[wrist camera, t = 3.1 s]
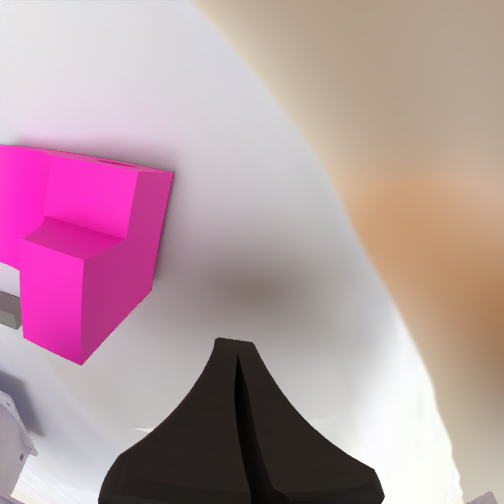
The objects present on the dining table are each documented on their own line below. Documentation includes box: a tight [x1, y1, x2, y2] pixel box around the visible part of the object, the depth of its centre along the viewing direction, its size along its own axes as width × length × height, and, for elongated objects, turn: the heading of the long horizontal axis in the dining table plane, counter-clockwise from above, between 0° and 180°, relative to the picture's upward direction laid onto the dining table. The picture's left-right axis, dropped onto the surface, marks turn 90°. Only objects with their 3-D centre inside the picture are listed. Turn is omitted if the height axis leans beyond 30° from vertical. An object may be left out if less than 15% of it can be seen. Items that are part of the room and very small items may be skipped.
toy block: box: [0, 145, 174, 366], centre depth 12 cm, size 15×6×8 cm, turn 76°
